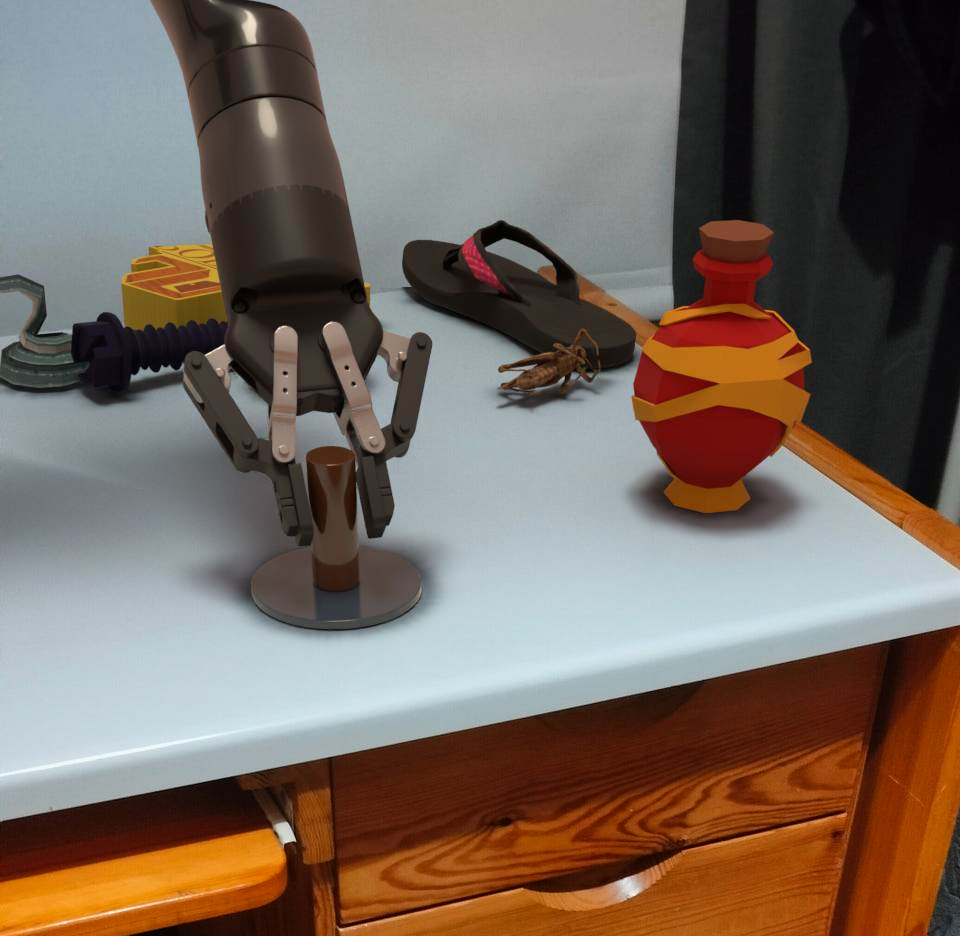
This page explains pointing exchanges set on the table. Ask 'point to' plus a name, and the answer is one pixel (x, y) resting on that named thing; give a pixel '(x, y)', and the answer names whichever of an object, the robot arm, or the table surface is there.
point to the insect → (550, 368)
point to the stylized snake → (37, 345)
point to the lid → (335, 560)
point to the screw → (137, 348)
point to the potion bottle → (721, 375)
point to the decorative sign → (175, 288)
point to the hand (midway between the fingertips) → (342, 535)
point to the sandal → (516, 294)
